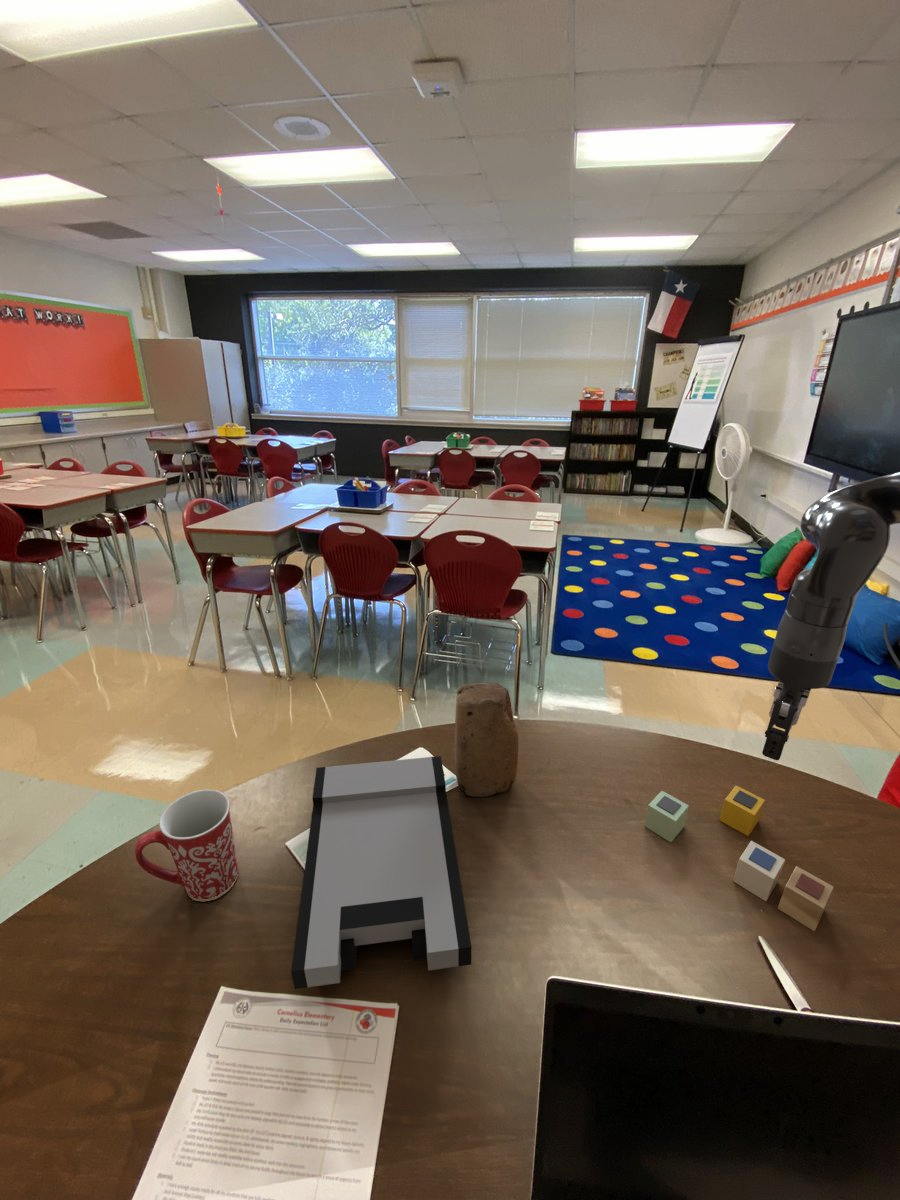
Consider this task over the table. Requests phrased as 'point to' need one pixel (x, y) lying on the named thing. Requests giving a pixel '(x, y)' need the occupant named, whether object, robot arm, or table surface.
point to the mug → (195, 844)
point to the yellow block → (742, 810)
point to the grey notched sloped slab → (379, 870)
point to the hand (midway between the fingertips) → (776, 741)
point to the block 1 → (485, 740)
